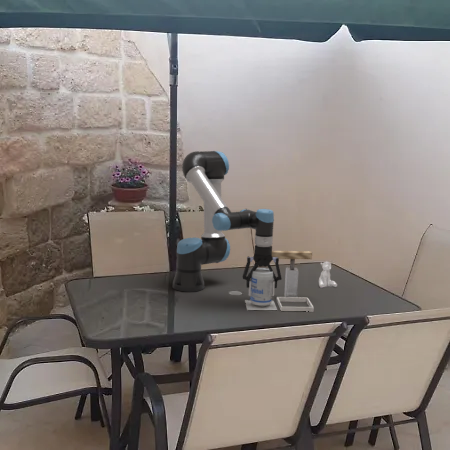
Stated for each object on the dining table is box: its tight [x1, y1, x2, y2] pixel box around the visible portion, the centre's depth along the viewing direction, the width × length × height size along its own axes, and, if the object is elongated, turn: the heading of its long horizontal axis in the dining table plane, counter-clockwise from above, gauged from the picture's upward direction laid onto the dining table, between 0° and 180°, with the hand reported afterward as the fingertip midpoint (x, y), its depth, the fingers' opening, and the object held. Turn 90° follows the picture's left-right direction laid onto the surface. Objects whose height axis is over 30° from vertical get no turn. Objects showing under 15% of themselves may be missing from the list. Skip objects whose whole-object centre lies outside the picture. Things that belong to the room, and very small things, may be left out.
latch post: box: [283, 266, 299, 297], centre depth 275 cm, size 5×5×14 cm
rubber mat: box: [244, 299, 278, 311], centre depth 264 cm, size 13×13×1 cm
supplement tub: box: [249, 267, 274, 306], centre depth 263 cm, size 10×10×15 cm
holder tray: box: [276, 296, 315, 313], centre depth 265 cm, size 14×14×2 cm
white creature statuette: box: [318, 261, 338, 289], centre depth 299 cm, size 10×9×12 cm
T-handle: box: [272, 250, 313, 269], centre depth 273 cm, size 22×3×8 cm, turn 94°
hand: (261, 294), depth 263 cm, fingers closed on supplement tub, 10 cm apart
